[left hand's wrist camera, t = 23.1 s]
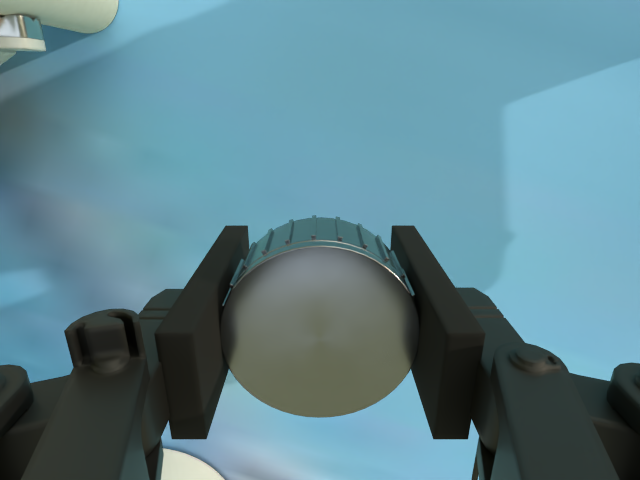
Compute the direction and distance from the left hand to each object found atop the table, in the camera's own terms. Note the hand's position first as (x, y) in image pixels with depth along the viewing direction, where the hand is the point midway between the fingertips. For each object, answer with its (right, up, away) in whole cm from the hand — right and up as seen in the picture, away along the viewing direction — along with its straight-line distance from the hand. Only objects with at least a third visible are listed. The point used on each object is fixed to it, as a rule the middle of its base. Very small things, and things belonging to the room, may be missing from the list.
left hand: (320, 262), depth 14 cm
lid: (0, -2, -4) cm, 4 cm away
